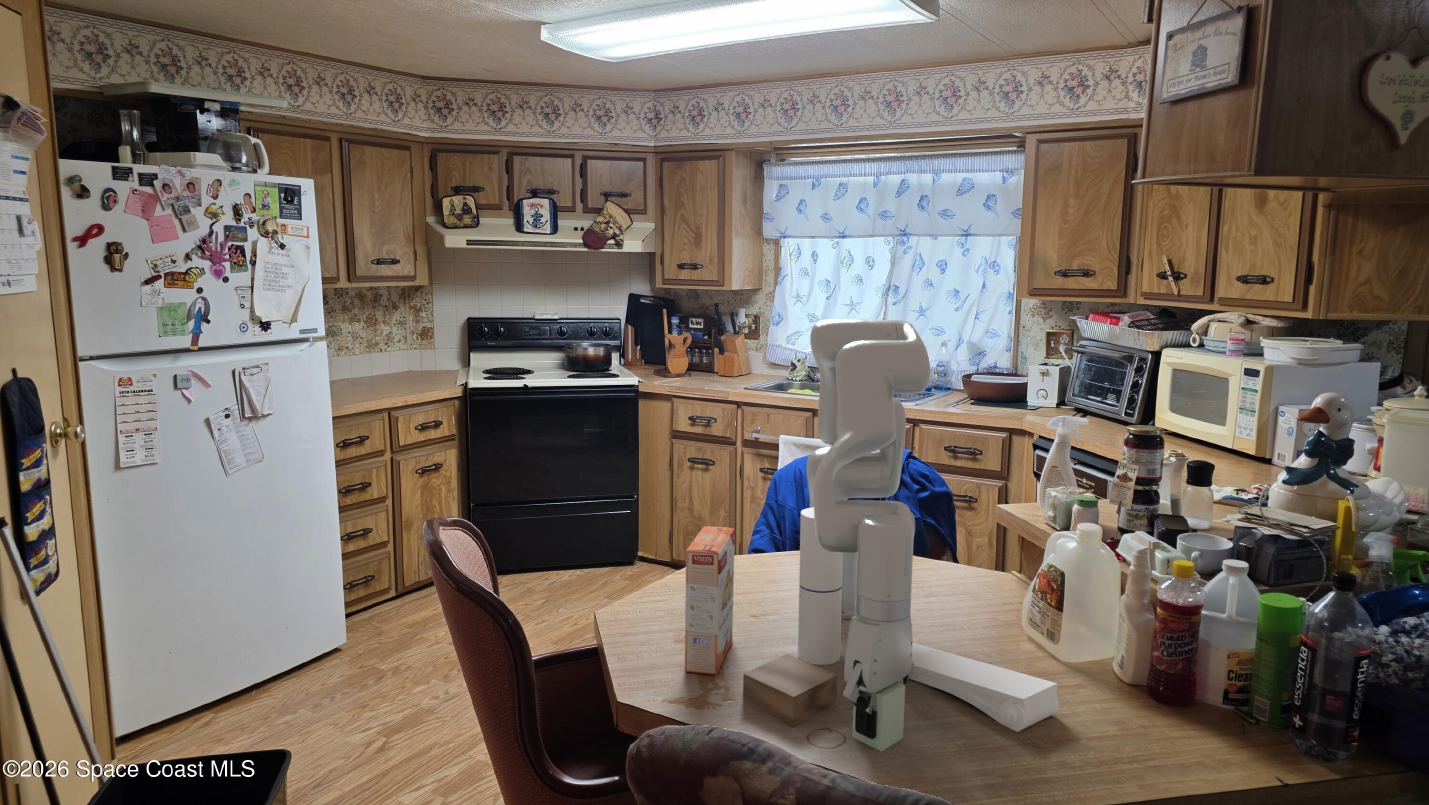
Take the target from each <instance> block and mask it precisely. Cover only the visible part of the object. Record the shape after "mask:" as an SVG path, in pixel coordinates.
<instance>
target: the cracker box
mask: <svg viewBox="0 0 1429 805" xmlns="http://www.w3.org/2000/svg"><path fill="white" fill-rule="evenodd" d="M735 537H736V529H735V528H732V527H727V526H726V527H725V526H711V525H710V526H708V525H706V526H703V527H702V528H701V530H700V531H699V533H698V534H697V535H696V536H695V538H694V540H692V542H691V543H690V545H689V546H688V547H687V549H686V550H685V552H686V554H685V603H684V604H685V608H684V609H685V610H684V611H685V612H684V613H685V614H684V615H685V620H684V630H685V631H684V672H687V673H696V674H704V675H715V676H718V674H719V671H720V670H721V667H722V664H723V662H724V660H725V658H726V655H727V653H728V651H729V649H730V647H731V644H732V643H733V622H734V621H733V620H734V585H735V584H734V582H735V581H734V580H735V578H734V577H735V574H734V572H735V540H736V539H735Z"/></svg>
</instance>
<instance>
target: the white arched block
mask: <svg viewBox="0 0 1429 805" xmlns="http://www.w3.org/2000/svg"><path fill="white" fill-rule="evenodd" d="M912 644H913V649H912V660H913V662H914V667H913V669H912V670H911V672H910V674H909V676H908V679H910V680H913V681H914V682H915V681H916V682H919V683H922V684H924V685H927V686H929V687H932V688H936V689H938V690H941V691H944V692H946V693H948V694H952V695H953V696H955V697H958V698H959V699H961V700H963V701H965V702H967V703H969V704H971V705H972V706H974V707H976V708H977V709H979V711H982V712H983V713H985V714H986V715H987V716H989V717H991V718H992V719H994V720H995V722H997V723H999V724H1001V725H1002V726H1003V725H1004V726H1006V727H1007V728H1009V729H1010V730H1012V731H1014V732H1016V733H1017V732H1021V731H1022V730H1024V729H1026V728H1029V727H1030V726H1032V725H1034V724H1037V723H1038V722H1040V721H1042V720H1044V719H1047V718H1048V717H1050V716H1052V715H1055V714H1056V713H1057V712H1058V709H1059V706H1060V702H1059V697H1058V695H1057V691H1058V689H1059V688H1058V682H1053V681H1049V680H1047V679H1043V678H1040V677H1036V676H1032V675H1029V674H1024V673H1021V672H1019V671H1014V670H1013V669H1012V670H1011V669H1007V668H1005V667H1000V666H997V665H993V664H990V663H987V662H983V661H980V660H976V659H972V658H969V657H966V656H962V655H958V654H954V653H951V652H947V651H945V650H944V651H943V650H940V649H938V648H933V647H930V646H926V645H923V644H919V643H915V642H913V641H912Z"/></svg>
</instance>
